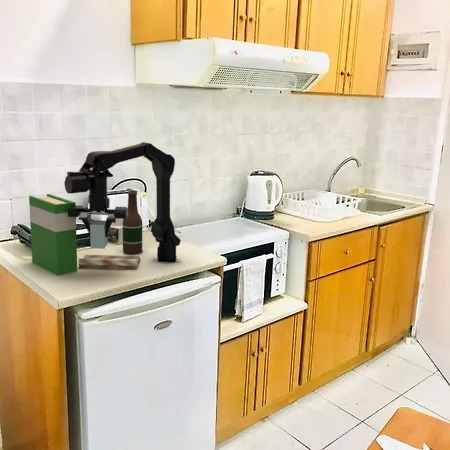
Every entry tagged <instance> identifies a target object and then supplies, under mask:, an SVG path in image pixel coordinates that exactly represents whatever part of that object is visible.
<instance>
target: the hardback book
mask: <svg viewBox="0 0 450 450" xmlns="http://www.w3.org/2000/svg"><path fill="white" fill-rule="evenodd" d="M28 201H29V202H28V204H29V206H28V207H29V221H30V225H29V226H30V240H31V241H30V242H31V245H30V246H31V260H32V261H31V262H32V264H35V266H36V265H37V266H39V267H40V268H42V269H44V270H46V271H48V272H49V273H51V274H53V275H56V276H62V275H63V276H64V275H66V274H70V273H71V274H72V273H74V272H78V247H77V245H78V243H77V240H78V239H77V217H68V209H69V208H70V207H72V206H75V205H77V204H76V202H75V201H72V200H69V199H66V198H63V197H60V196H56V195H54V194H51V193H47V194H46V196H39V197H36V196H33V195H29V196H28Z"/></svg>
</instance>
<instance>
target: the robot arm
mask: <svg viewBox="0 0 450 450" xmlns="http://www.w3.org/2000/svg"><path fill="white" fill-rule="evenodd" d="M141 157H145V158H146V160H148V161H150V162H151V168H152V172H153V173H154V176H155V179H156V183H155V184H156V186H155V187H156V190H155V191H156V217H155V219H154V220H153V221H150V226H151V227H150V233H152V234H151V235H152V237H153V238H154V239H155V242H156V243H158V246H157V249H156V250H157V251H156V252H157V253H156V254H157V259H158V262H159V263H161V262H163V263H164V262H165V263H166V262H167V263H169V262H170V263H176V262H177V247H178V246H180V244H181V241H182V240H181V238H179V236H178V235H177V234H176V233H175V226H174V223H173V221H172V218H171V178H172V176H173V173H174V172H175V164H176V160H175V157H174V156H173V155H172V154H168V153H166V152H164V151H163V150H161V149H159V148H157V147H156V146H155V145H153V143H150V142H146V141H145V142H143V141H142V142H141V143H138V144H135V145H134V144H133V145H130V146H129V145H128V146H126V147H121V148H117V149H114V150H99V151H98V150H97V151H90V152H89V153H87V156H86V159H85V160H84V163H83V164H82V165H81V168H80V169H79V170H78V171H67V172H66V174H67V175H66V176H65V180H64V182H63V183H64V188H65V192H66V193H67V194H68V195H69V194H70V195H71V194H79V193H80V194H81V193H87V192H88V197H87V198H88V199H87V203H88V205H89V208H84V205H77V204H76V205H75V206H72V207H70V208H69V209H68V217H76V218H78V220H81V222H82V223H83V225H84V226H85V229H86V231H87V232H88V235H89V236H90V224H91V223H92V215H99V216H104V215H105V216H107V217H106V219H105V221H106V231H105V236H106V238H107V236H108V233H109V230H110V227H111V224H112V222H113V221H115V220H116V219H117V218H119V219H125V218H127V216H128V206H115V208H114V209H113V208H112V209H111V208H110V202H111V199H110V197H108V178H113V177H114V174H113V173H112V172H110V170H109V169H112V168H113V167H114V166H116V165H117V164H119V163H123V162H126V161H130V160H134V159H137V158H141Z"/></svg>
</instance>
